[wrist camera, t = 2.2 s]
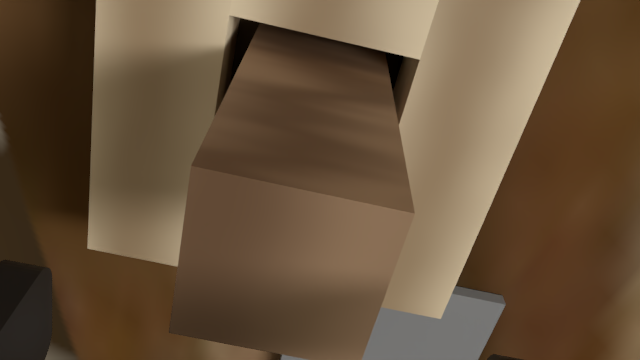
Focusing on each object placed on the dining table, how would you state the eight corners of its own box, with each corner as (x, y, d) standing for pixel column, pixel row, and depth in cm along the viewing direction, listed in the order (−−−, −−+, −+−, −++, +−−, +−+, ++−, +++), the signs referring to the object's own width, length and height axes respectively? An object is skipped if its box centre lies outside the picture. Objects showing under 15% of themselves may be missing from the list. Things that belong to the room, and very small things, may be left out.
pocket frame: (564, -58, 19) (598, -42, 17) (431, 271, 26) (440, 319, 24) (136, -167, 18) (102, -168, 16) (114, 206, 25) (87, 248, 23)
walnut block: (384, 47, 21) (414, 213, 12) (353, 155, 24) (358, 369, 14) (261, 19, 21) (190, 166, 11) (242, 131, 23) (169, 332, 14)
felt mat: (502, 295, 27) (505, 304, 26) (439, 423, 31) (440, 433, 31) (307, 255, 26) (306, 264, 26) (270, 392, 30) (269, 402, 30)
